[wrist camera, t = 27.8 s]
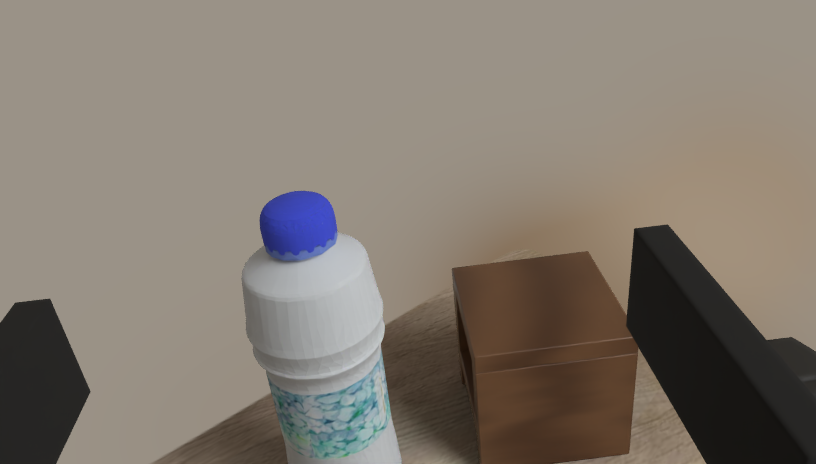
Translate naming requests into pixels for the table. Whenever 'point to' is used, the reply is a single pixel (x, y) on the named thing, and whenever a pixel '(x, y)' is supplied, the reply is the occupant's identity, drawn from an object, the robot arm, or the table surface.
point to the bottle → (319, 335)
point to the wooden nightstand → (544, 360)
